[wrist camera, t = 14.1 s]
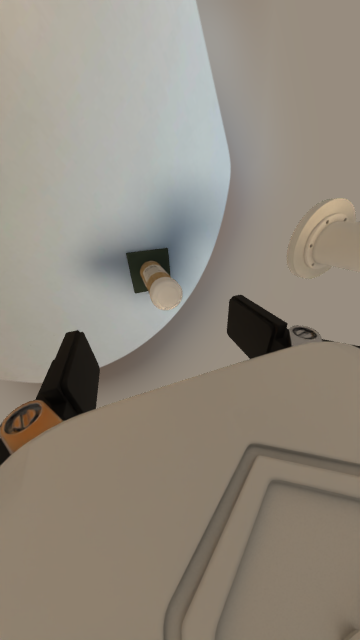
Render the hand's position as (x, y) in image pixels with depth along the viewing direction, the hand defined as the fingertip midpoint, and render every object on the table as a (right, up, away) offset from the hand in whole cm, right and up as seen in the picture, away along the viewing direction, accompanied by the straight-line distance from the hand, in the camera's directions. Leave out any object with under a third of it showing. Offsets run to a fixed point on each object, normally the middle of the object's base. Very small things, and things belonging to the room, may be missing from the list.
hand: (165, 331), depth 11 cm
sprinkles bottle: (-5, +11, +24) cm, 27 cm away
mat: (-5, +11, +25) cm, 27 cm away
